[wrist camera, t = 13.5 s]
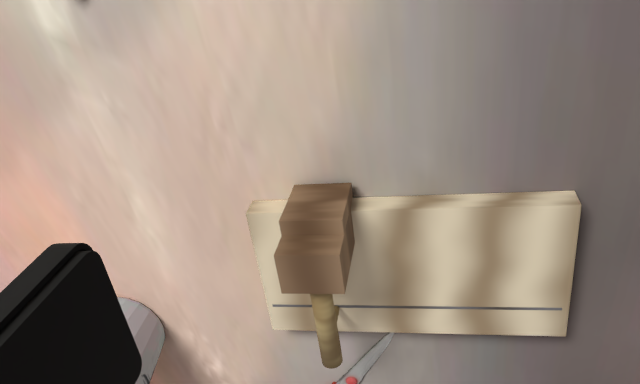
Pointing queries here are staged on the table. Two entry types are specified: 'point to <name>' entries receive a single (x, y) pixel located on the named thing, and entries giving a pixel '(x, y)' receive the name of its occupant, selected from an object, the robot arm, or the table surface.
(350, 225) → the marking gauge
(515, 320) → the maple board
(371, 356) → the scissors
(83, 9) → the table surface
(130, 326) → the mug
